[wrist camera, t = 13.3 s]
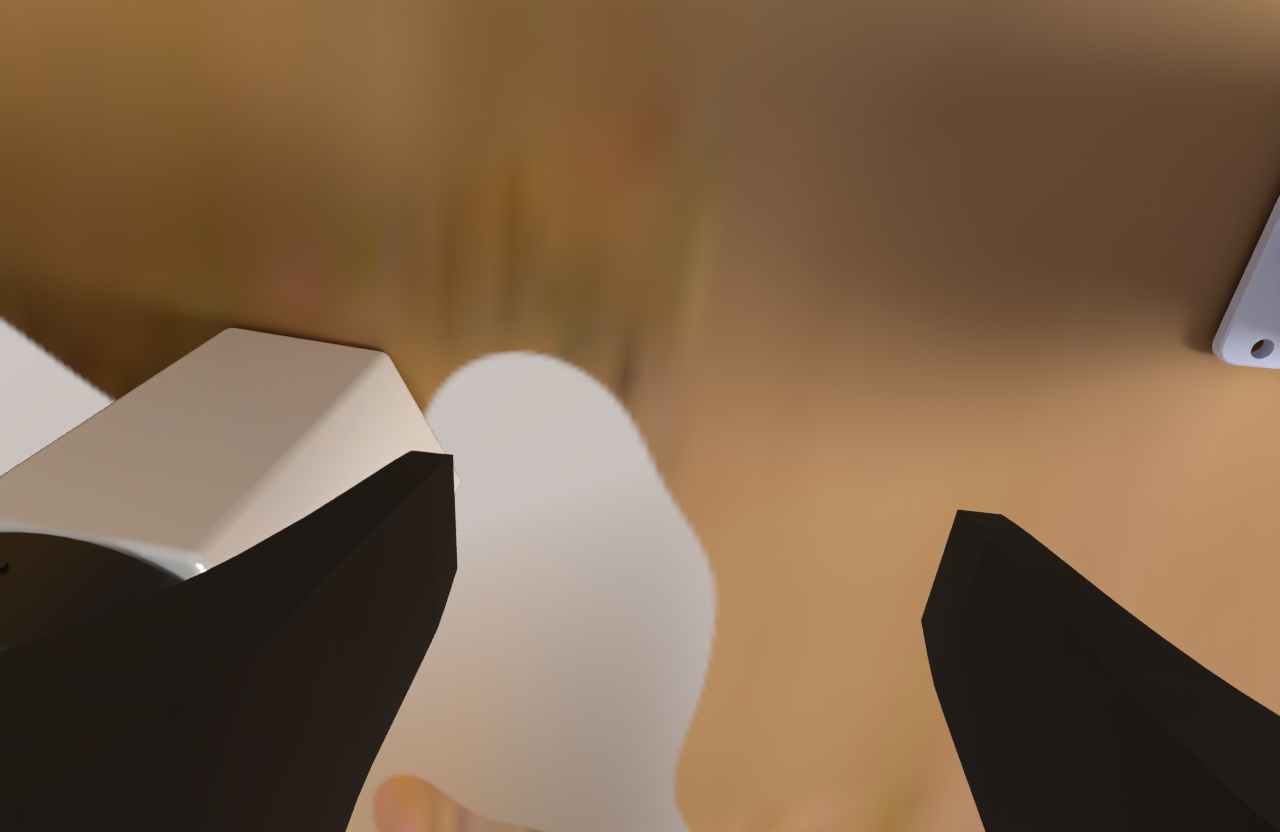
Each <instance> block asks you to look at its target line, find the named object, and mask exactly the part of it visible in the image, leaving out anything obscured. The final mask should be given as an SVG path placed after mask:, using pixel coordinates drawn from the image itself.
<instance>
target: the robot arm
mask: <svg viewBox="0 0 1280 832" xmlns="http://www.w3.org/2000/svg"><path fill="white" fill-rule="evenodd" d="M1260 340H1264V343H1263V345H1262V346H1261V348H1260V349H1258V350H1257V351H1255V352H1251V348H1252V347H1253V346H1254V344H1255V343H1257V342H1258V341H1260ZM1212 350H1213V353H1214V354H1215V355H1216V356H1217V357H1218V358H1219V359H1221V360H1222V361H1224V362H1225V363H1229V364H1232V365H1241V366H1251V367H1261V368H1271V369H1280V196H1279V198H1278V200H1277V202H1276V204H1275V206H1274V209H1273V211H1272V213H1271V215H1270V217H1269V220H1268V222H1267V224H1266V226H1265V228H1264V231H1263V233H1262V235H1261V237H1260V239H1259V241H1258V244H1257V246H1256V248H1255V250H1254V252H1253V255H1252V257H1251V259H1250V261H1249V263H1248V265H1247V268H1246V270H1245V272H1244V274H1243V276H1242V279H1241V281H1240V283H1239V285H1238V287H1237V290H1236V292H1235V294H1234V296H1233V298H1232V300H1231V303H1230V305H1229V307H1228V309H1227V311H1226V314H1225V316H1224V318H1223V320H1222V322H1221V324H1220V327H1219V329H1218V331H1217V333H1216V335H1215V338H1214V340H1213V344H1212ZM456 571H457V546H456V520H455V494H454V468H453V455H450V454H441V453H432V452H422V451H413V450H411V451H409V452H408V453H406V454H404V455H402V456H400V457H399V458H397V459H395V460H394V461H392V462H391V463H389V464H387V465H386V466H384V467H383V468H381V469H380V470H378V471H377V472H375V473H373V474H372V475H370V476H369V477H367V478H366V479H364V480H363V481H361V482H359V483H358V484H356V485H355V486H353V487H352V488H350V489H349V490H347V491H345V492H344V493H342V494H341V495H339V496H337V497H336V498H334V499H333V500H331V501H329V502H328V503H326V504H325V505H323V506H321V507H320V508H318V509H317V510H315V511H313V512H312V513H310V514H309V515H307V516H305V517H304V518H302V519H300V520H298V521H297V522H295V523H293V524H291V525H289V526H288V527H286V528H284V529H282V530H281V531H279V532H277V533H275V534H274V535H272V536H270V537H268V538H267V539H265V540H263V541H261V542H259V543H258V544H256V545H254V546H252V547H251V548H249V549H247V550H245V551H244V552H242V553H240V554H238V555H236V556H234V557H232V558H230V559H228V560H226V561H224V562H222V563H220V564H218V565H216V566H214V567H212V568H210V569H208V570H206V571H204V572H202V573H200V574H198V575H196V576H193V577H191V578H189V579H187V580H185V581H183V582H180V583H178V584H176V585H174V586H172V587H170V588H167V589H165V590H163V591H161V592H159V593H156V594H154V595H152V596H149V597H147V598H145V599H142V600H140V601H137V602H134V603H132V604H129V605H127V606H124V607H122V608H119V609H117V610H114V611H111V612H109V613H106V614H104V615H101V616H99V617H96V618H93V619H91V620H88V621H86V622H83V623H81V624H78V625H76V626H73V627H70V628H68V629H65V630H63V631H60V632H57V633H54V634H52V635H49V636H46V637H43V638H40V639H37V640H34V641H31V642H28V643H25V644H22V645H19V646H16V647H13V648H10V649H7V650H5V651H2V652H0V832H345V831H346V829H347V826H348V823H349V821H350V818H351V815H352V812H353V810H354V807H355V804H356V801H357V799H358V796H359V794H360V792H361V789H362V787H363V785H364V782H365V780H366V778H367V775H368V773H369V771H370V768H371V766H372V764H373V762H374V760H375V758H376V756H377V754H378V752H379V750H380V747H381V745H382V743H383V741H384V739H385V737H386V735H387V733H388V731H389V729H390V727H391V725H392V723H393V721H394V718H395V717H396V714H397V712H398V710H399V708H400V706H401V704H402V702H403V700H404V698H405V696H406V694H407V692H408V690H409V687H410V686H411V683H412V681H413V679H414V677H415V675H416V673H417V671H418V669H419V667H420V665H421V663H422V661H423V658H424V656H425V654H426V652H427V650H428V648H429V646H430V644H431V642H432V639H433V637H434V635H435V633H436V630H437V629H438V626H439V623H440V620H441V617H442V614H443V611H444V608H445V605H446V602H447V599H448V596H449V593H450V590H451V587H452V583H453V580H454V577H455V574H456ZM921 622H922V628H923V633H924V639H925V644H926V649H927V655H928V660H929V664H930V669H931V673H932V678H933V682H934V686H935V689H936V693H937V696H938V699H939V702H940V704H941V707H942V710H943V713H944V716H945V719H946V722H947V725H948V728H949V731H950V733H951V736H952V739H953V742H954V745H955V748H956V750H957V753H958V756H959V759H960V762H961V764H962V767H963V770H964V773H965V776H966V778H967V781H968V784H969V787H970V790H971V792H972V795H973V798H974V801H975V804H976V806H977V809H978V812H979V815H980V818H981V821H982V823H983V826H984V829H985V832H1280V716H1279V715H1277V714H1276V713H1274V712H1273V711H1271V710H1269V709H1268V708H1266V707H1265V706H1263V705H1261V704H1260V703H1258V702H1257V701H1255V700H1253V699H1252V698H1250V697H1249V696H1247V695H1245V694H1244V693H1242V692H1241V691H1239V690H1238V689H1236V688H1235V687H1233V686H1232V685H1230V684H1229V683H1227V682H1226V681H1224V680H1223V679H1221V678H1220V677H1218V676H1217V675H1215V674H1214V673H1212V672H1211V671H1209V670H1208V669H1206V668H1205V667H1203V666H1202V665H1201V664H1199V663H1198V662H1196V661H1195V660H1194V659H1192V658H1191V657H1189V656H1188V655H1187V654H1185V653H1184V652H1182V651H1181V650H1180V649H1178V648H1177V647H1175V646H1174V645H1173V644H1171V643H1170V642H1168V641H1167V640H1166V639H1164V638H1163V637H1161V636H1160V635H1159V634H1157V633H1156V632H1155V631H1153V630H1152V629H1151V628H1149V627H1148V626H1147V625H1145V624H1144V623H1143V622H1141V621H1140V620H1138V619H1137V618H1136V617H1134V616H1133V615H1132V614H1131V613H1129V612H1128V611H1127V610H1125V609H1124V608H1123V607H1121V606H1120V605H1119V604H1118V603H1116V602H1115V601H1114V600H1112V599H1111V598H1110V597H1109V596H1107V595H1106V594H1105V593H1103V592H1102V591H1101V590H1100V589H1098V588H1097V587H1096V586H1095V585H1093V584H1092V583H1091V582H1089V581H1088V580H1087V579H1086V578H1084V577H1083V576H1082V575H1081V574H1079V573H1078V572H1077V571H1076V570H1074V569H1073V568H1072V567H1071V566H1069V565H1068V564H1067V563H1066V562H1064V561H1063V560H1062V559H1061V558H1059V557H1058V556H1057V555H1056V554H1054V553H1053V552H1052V551H1050V550H1049V549H1048V548H1047V547H1045V546H1044V545H1043V544H1042V543H1040V542H1039V541H1038V540H1036V539H1035V538H1034V537H1033V536H1031V535H1030V534H1029V533H1027V532H1026V531H1025V530H1023V529H1022V528H1021V527H1019V526H1018V525H1016V524H1015V523H1014V522H1012V521H1011V520H1009V519H1008V518H1006V517H1005V516H1003V515H1001V514H992V513H983V512H974V511H965V510H957V513H956V516H955V519H954V523H953V526H952V529H951V532H950V535H949V538H948V541H947V544H946V547H945V550H944V553H943V556H942V559H941V562H940V565H939V568H938V571H937V574H936V577H935V580H934V583H933V586H932V589H931V592H930V595H929V598H928V601H927V604H926V607H925V610H924V613H923V616H922V619H921Z"/></svg>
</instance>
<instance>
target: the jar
mask: <svg viewBox="0 0 1280 832" xmlns="http://www.w3.org/2000/svg"><path fill="white" fill-rule="evenodd" d="M411 450H413V451H422V452H432V453H441V454H445V452H444V450H443V448H442V447H441V445H440V443H439V442H438V440H437V438H436V437H435V435H434V433H433V431H432V429H431V428H430V426H429V424H428V423H427V421H426V419H425V417H424V416H423V414H422V412H421V410H420V409H419V407H418V405H417V404H416V402H415V400H414V398H413V397H412V395H411V393H410V392H409V390H408V388H407V386H406V385H405V383H404V381H403V379H402V378H401V376H400V374H399V372H398V371H397V369H396V367H395V365H394V364H393V362H392V360H391V359H390V357H389V356H388V355H387V354H386V353H384V352H381V351H375V350H368V349H362V348H356V347H350V346H344V345H338V344H331V343H325V342H319V341H313V340H307V339H300V338H294V337H288V336H282V335H276V334H270V333H263V332H257V331H251V330H245V329H239V328H227V329H225V330H224V331H222V332H220V333H219V334H217V335H216V336H214V337H213V338H211V339H210V340H208V341H207V342H205V343H204V344H202V345H201V346H199V347H198V348H196V349H194V350H193V351H191V352H190V353H188V354H187V355H185V356H184V357H182V358H181V359H179V360H178V361H176V362H175V363H173V364H172V365H170V366H168V367H167V368H165V369H164V370H162V371H161V372H159V373H158V374H156V375H155V376H153V377H152V378H150V379H149V380H147V381H146V382H144V383H142V384H141V385H139V386H138V387H136V388H135V389H133V390H132V391H130V392H129V393H127V394H126V395H124V396H123V397H121V398H120V399H118V400H116V401H115V402H113V403H112V404H110V405H109V406H107V407H106V408H104V409H103V410H101V411H100V412H98V413H97V414H95V415H94V416H92V417H90V418H89V419H87V420H86V421H84V422H83V423H81V424H80V425H78V426H77V427H75V428H74V429H72V430H71V431H69V432H67V433H66V434H65V435H63V436H61V437H60V438H58V439H57V440H55V441H54V442H52V443H51V444H49V445H48V446H46V447H45V448H43V449H41V450H40V451H38V452H37V453H35V454H34V455H32V456H31V457H29V458H28V459H26V460H25V461H23V462H22V463H20V464H18V465H17V466H15V467H14V468H12V469H11V470H10V471H8V472H6V473H5V474H3V475H2V476H0V652H2V651H5V650H7V649H10V648H13V647H16V646H19V645H22V644H25V643H28V642H31V641H34V640H37V639H40V638H43V637H46V636H49V635H52V634H54V633H57V632H60V631H63V630H65V629H68V628H70V627H73V626H76V625H78V624H81V623H83V622H86V621H88V620H91V619H93V618H96V617H99V616H101V615H104V614H106V613H109V612H111V611H114V610H117V609H119V608H122V607H124V606H127V605H129V604H132V603H134V602H137V601H140V600H142V599H145V598H147V597H149V596H152V595H154V594H156V593H159V592H161V591H163V590H165V589H167V588H170V587H172V586H174V585H176V584H178V583H180V582H183V581H185V580H187V579H189V578H191V577H193V576H196V575H198V574H200V573H202V572H204V571H206V570H208V569H210V568H212V567H214V566H216V565H218V564H220V563H222V562H224V561H226V560H228V559H230V558H232V557H234V556H236V555H238V554H240V553H242V552H244V551H245V550H247V549H249V548H251V547H252V546H254V545H256V544H258V543H259V542H261V541H263V540H265V539H267V538H268V537H270V536H272V535H274V534H275V533H277V532H279V531H281V530H282V529H284V528H286V527H288V526H289V525H291V524H293V523H295V522H297V521H298V520H300V519H302V518H304V517H305V516H307V515H309V514H310V513H312V512H313V511H315V510H317V509H318V508H320V507H321V506H323V505H325V504H326V503H328V502H329V501H331V500H333V499H334V498H336V497H337V496H339V495H341V494H342V493H344V492H345V491H347V490H349V489H350V488H352V487H353V486H355V485H356V484H358V483H359V482H361V481H363V480H364V479H366V478H367V477H369V476H370V475H372V474H373V473H375V472H377V471H378V470H380V469H381V468H383V467H384V466H386V465H387V464H389V463H391V462H392V461H394V460H395V459H397V458H399V457H400V456H402V455H404V454H406V453H408V452H409V451H411ZM453 468H454V467H453ZM459 486H460V478H459V476H458V474H457V472H456V471H455V469H454V494H456V492H457V490H458V488H459Z"/></svg>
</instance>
